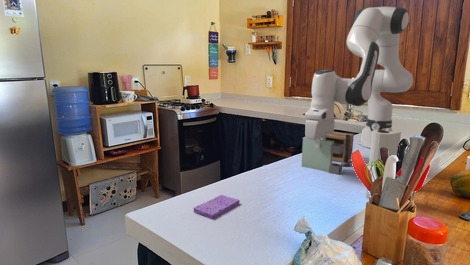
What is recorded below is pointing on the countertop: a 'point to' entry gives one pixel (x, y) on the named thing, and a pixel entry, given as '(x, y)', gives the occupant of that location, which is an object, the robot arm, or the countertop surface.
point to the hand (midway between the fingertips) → (319, 146)
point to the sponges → (216, 206)
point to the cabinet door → (321, 155)
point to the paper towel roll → (383, 145)
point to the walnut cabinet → (348, 146)
